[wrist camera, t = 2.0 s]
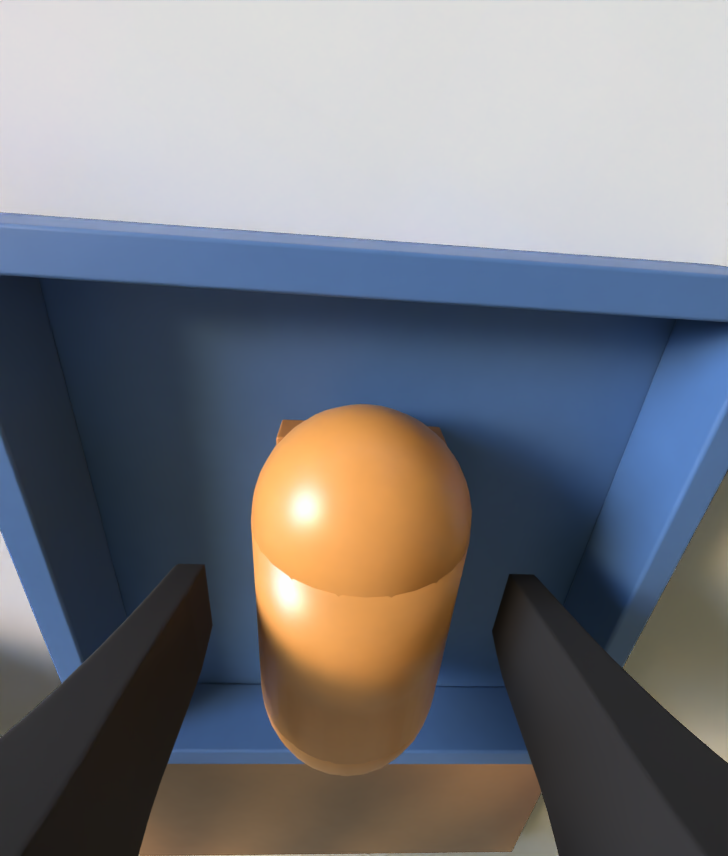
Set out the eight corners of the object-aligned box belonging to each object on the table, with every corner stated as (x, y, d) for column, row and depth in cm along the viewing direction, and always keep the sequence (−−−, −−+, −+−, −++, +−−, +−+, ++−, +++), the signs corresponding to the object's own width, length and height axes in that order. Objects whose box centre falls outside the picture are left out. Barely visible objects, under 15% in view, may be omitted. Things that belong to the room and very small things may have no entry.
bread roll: (277, 644, 15) (248, 815, 10) (268, 367, 10) (213, 475, 6) (412, 646, 15) (436, 813, 11) (460, 378, 10) (533, 488, 6)
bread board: (148, 829, 21) (139, 856, 20) (107, 708, 17) (93, 736, 16) (505, 826, 22) (512, 852, 21) (558, 712, 18) (569, 739, 17)
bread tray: (131, 681, 16) (92, 765, 14) (0, 212, 9) (-130, 213, 6) (540, 686, 17) (572, 765, 14) (713, 264, 10) (831, 282, 7)
